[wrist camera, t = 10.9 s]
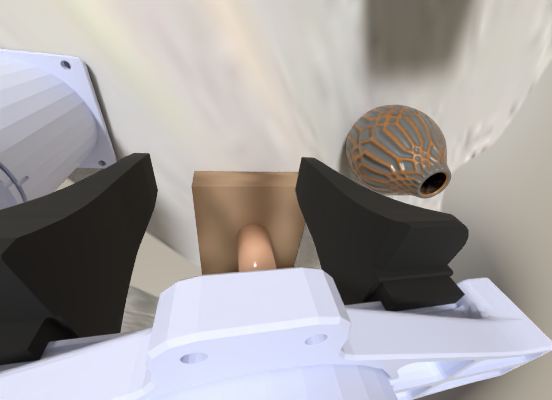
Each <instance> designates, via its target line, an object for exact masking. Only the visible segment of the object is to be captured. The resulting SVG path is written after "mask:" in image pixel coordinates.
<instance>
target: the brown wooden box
mask: <svg viewBox="0 0 552 400" xmlns="http://www.w3.org/2000/svg"><path fill="white" fill-rule="evenodd" d="M298 173H299V172H213V171H194V177H193V183H192V193H193V201H194V209H195V218H196V226H197V235H198V243H199V252H200V260H201V269H202V275H207V274H220V273H232V272H239V267H238V252H237V233H238V232H239V231H240V230H241V229H242V228H243V227H245V226H248V225H261V226H263V227H265V228H266V229H267V230H268V232H269V237H270V241H271V246H272V251H273V255H274V260H275V265H276V269H282V268H294V263H295V260H296V256H297V252H298V248H299V245H300V241H301V237H302V233H303V230H304V226H305V222H306V221H305V219H304V217H303V214H302V212H301V209H300V207H299V204H298V200H297V196H296V192H295V188H296V183H297V178H298Z"/></svg>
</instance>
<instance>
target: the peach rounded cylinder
mask: <svg viewBox="0 0 552 400" xmlns="http://www.w3.org/2000/svg"><path fill="white" fill-rule="evenodd" d="M237 252H238V267H239V272H245V271H257V270H270V269H276V265H275V260H274V255H273V251H272V246H271V241H270V237H269V232H268V230H267V229H266V228H265V227H263V226H261V225H248V226H245V227H243V228H242V229H241V230H240V231H239V232H238V233H237Z"/></svg>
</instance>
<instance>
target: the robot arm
mask: <svg viewBox="0 0 552 400" xmlns="http://www.w3.org/2000/svg"><path fill="white" fill-rule="evenodd" d="M64 61H67V62H68V63H69V64H70V65H71V69H69V68H67V67H66V66H65V65H64ZM101 161H104V162H105V163H106V164H103V163H101ZM76 168H105V169H103V170H101V171H99V172H97V173H95V174H93V175H91V176H89V177H87V178H85V179H83V180H81V181H79V182H77V183H75V184H73V185H70V186H68V187H66V188H64V189H61V190H58V191H56V192H54V191H55V190H56V189H57V188H58V187H59V186H60V185H61V184H62V183H63V182H64V181H65V180H66V179H67V178H68V176H69V175H70V174H71V173H72V172H73V171H74V170H75V169H76ZM157 192H158V189H157V185H156V181H155V176H154V172H153V167H152V163H151V158H150V154H149V153H133V154H131V155H129V156H127V157H125V158H123V159H121V160H119V161H117V159H116V156H115V153H114V150H113V146H112V143H111V140H110V137H109V134H108V131H107V128H106V125H105V122H104V119H103V116H102V113H101V109H100V106H99V103H98V100H97V97H96V94H95V91H94V88H93V85H92V82H91V79H90V76H89V72H88V69H87V66H86V64H85V62H84V61H83V60H82V59H80V58H79V57H75V56H67V55H57V54H47V53H38V52H28V51H18V50H8V49H0V400H413V399H416V398H419V397H423V396H426V395H430V394H433V393H436V392H440V391H443V390H447V389H450V388H454V387H458V386H461V385H465V384H468V383H472V382H476V381H480V380H484V379H488V378H493V377H497V376H500V375H503V374H505V373H507V372H509V371H511V370H513V369H515V368H517V367H519V366H521V365H523V364H525V363H527V362H529V361H531V360H533V359H536V358H538V357H540V356H542V355H544V354H546V353H548V352H550V351H552V341H551V340H550V339H549V338H548V337H547V336H546V335H545V334H544V333H543V332H542V331H541V330H540V329H539V328H538V327H537V326H536V325H535V324H534V323H533V322H532V321H531V320H530V319H529V318H528V317H527V316H526V315H525V314H524V313H523V312H522V311H521V310H520V309H519V308H518V307H517V306H516V305H515V304H514V303H512V301H511V300H510V299H509V298H507V296H506V295H505V294H503V292H501V291H500V290H499V289H498V288H497V287H496V286H495V285H494V284H493V283H492V282H491V281H490V280H489V279H488V278H475V279H466V280H462V281H459V282H457V283H455V282H454V281H453V280H452V279H451V278H450V276H451V275H452V274H453V271H452V270H451V268H449V266H448V263H449V262H450V261H451V260H452V259H453V258H454V257H455V256H456V254H457V253H458V252H459V251H460V250H461V249H462V247H463V246H464V245H465V244H466V241H467V239H468V229H467V227H466V226H465V225H464V224H463V223H462V222H460V221H459V220H458V219H457V218H456V217H454V216H453V215H451V214H447V213H442V212H438V211H433V210H429V209H424V208H420V207H417V206H413V205H410V204H406V203H403V202H400V201H397V200H394V199H391V198H388V197H386V196H383V195H381V194H378V193H376V192H373V191H371V190H369V189H367V188H365V187H363V186H361V185H359V184H357V183H355V182H353V181H351V180H350V179H348V178H346V177H344V176H343V175H341V174H339V173H338V172H336V171H335V170H333V169H332V168H330V167H328V166H327V165H325V164H324V163H322V162H320V161H319V160H317V159H315V158H306V157H302V159H301V164H300V168H299V173H298V178H297V183H296V188H295V192H296V196H297V200H298V204H299V207H300V209H301V212H302V214H303V217H304V219H305V221H306V224H307V226H308V228H309V231H310V233H311V236H312V238H313V241H314V243H315V247H316V250H317V253H318V257H319V260H320V264H321V268H322V270H321V269H316V268H306V267H295V268H282V269H270V270H257V271H245V272H232V273H220V274H207V275H200V276H196V277H191V278H187V279H183V280H180V281H178V282H176V283H175V284H173V285H172V286H171V287H169V288H168V289H166V290H165V291H163V292H162V293H161V294H160V297H159V301H158V306H157V310H156V315H155V319H154V324H153V327H150V328H146V329H143V330H140V331H133V332H125V333H120V331H121V325H122V319H123V314H124V308H125V303H126V298H127V293H128V289H129V284H130V280H131V275H132V271H133V267H134V263H135V259H136V255H137V252H138V249H139V246H140V244H141V241H142V239H143V236H144V234H145V231H146V228H147V226H148V223H149V221H150V218H151V216H152V213H153V210H154V207H155V203H156V198H157Z"/></svg>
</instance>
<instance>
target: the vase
mask: <svg viewBox="0 0 552 400" xmlns="http://www.w3.org/2000/svg"><path fill="white" fill-rule="evenodd" d="M346 156H347V160H348V163H349V165H350V168H351V169H352V171H353V172H354V174H355V175H356V176H357V178H358V179H359V180H360V181H361V182H363V183H364V184H365V185H366V186H368V187H370V188H371V189H373V190H375V191H378V192H380V193H384V194H388V195H413V196H416V197H420V198H430V197H433V196H435V195H437V194H439V193H440V192H441V191H443V190H444V189H445V188H446V187H447V185H448V184H449V182H450V180H451V172H450V170H449V168H448V166H447V148H446V141H445V138H444V135H443V133H442V131H441V130H440V128H439V127H438V126H437V124H436V123H435V122H434V121H433V120H432V119H431V118H430V117H429V116H427V115H426V114H424V113H422V112H421V111H419V110H416V109H414V108H411V107H407V106H402V105H386V106H382V107H378V108H375V109H373V110H371V111H369V112H367V113H366V114H364V115H363V116H362V117H361V118H360V119H359V120H358V121H357V122H356V123H355V124H354V126H353V127H352V129H351V130H350V132H349V135H348V137H347V141H346Z"/></svg>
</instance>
